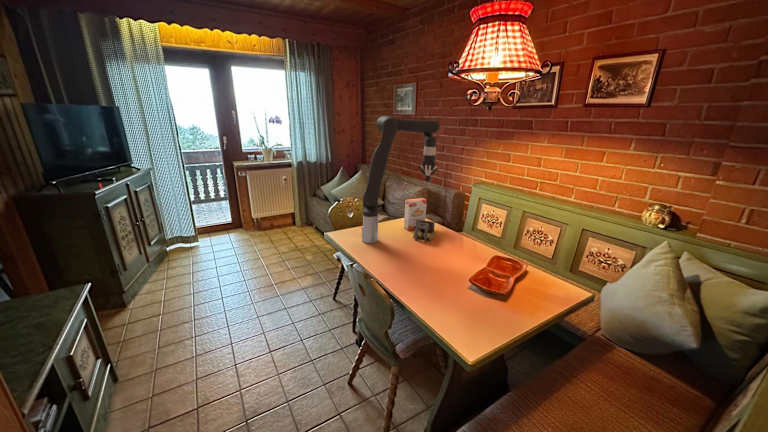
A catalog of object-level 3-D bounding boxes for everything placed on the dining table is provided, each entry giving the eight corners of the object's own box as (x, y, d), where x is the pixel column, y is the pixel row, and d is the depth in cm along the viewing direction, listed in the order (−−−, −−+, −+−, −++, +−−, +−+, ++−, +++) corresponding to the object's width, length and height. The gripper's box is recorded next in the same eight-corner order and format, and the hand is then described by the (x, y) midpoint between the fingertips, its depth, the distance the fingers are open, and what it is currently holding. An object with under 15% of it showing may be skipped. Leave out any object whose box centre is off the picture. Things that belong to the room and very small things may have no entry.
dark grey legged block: (411, 239, 189) (412, 225, 185) (416, 233, 199) (416, 219, 196) (429, 242, 185) (431, 227, 182) (433, 236, 195) (434, 221, 192)
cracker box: (407, 231, 203) (409, 201, 196) (403, 228, 208) (404, 199, 201) (425, 228, 209) (427, 199, 202) (420, 225, 214) (422, 197, 207)
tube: (413, 238, 192) (413, 231, 190) (415, 235, 196) (415, 229, 194) (431, 241, 187) (431, 234, 186) (433, 238, 191) (433, 232, 190)
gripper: (417, 154, 184) (416, 181, 189) (438, 155, 179) (436, 183, 185) (420, 152, 190) (419, 179, 196) (441, 154, 186) (439, 181, 192)
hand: (427, 181), depth 191 cm, fingers closed
